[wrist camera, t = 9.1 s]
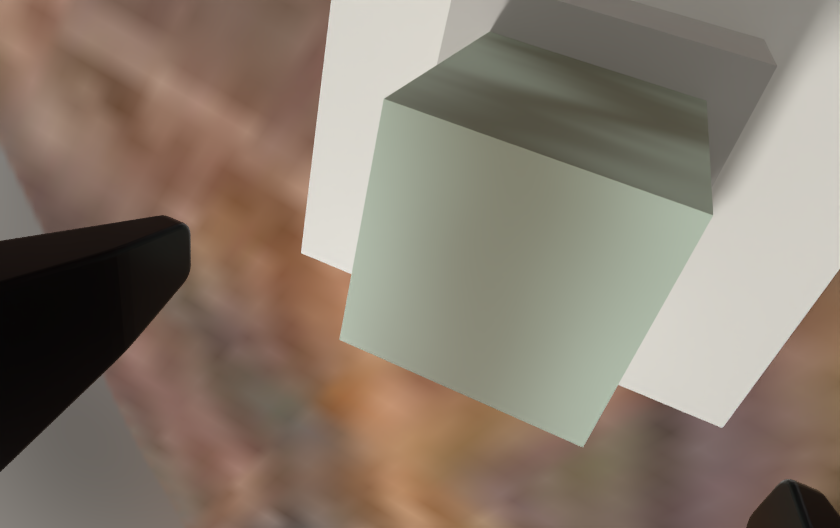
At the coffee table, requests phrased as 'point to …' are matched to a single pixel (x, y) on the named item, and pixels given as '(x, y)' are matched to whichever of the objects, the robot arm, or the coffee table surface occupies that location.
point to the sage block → (526, 228)
